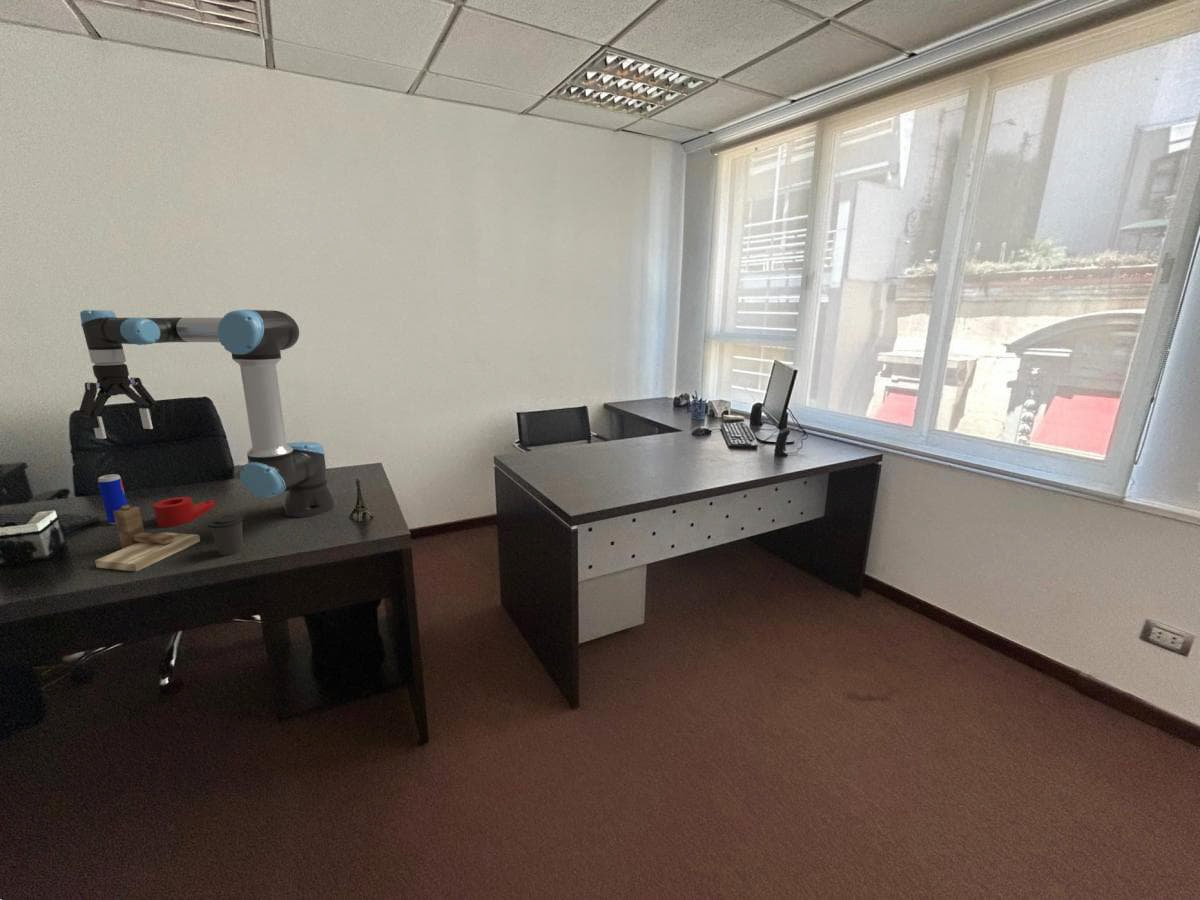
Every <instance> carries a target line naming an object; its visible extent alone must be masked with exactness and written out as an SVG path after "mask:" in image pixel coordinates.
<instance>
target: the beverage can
mask: <svg viewBox="0 0 1200 900" xmlns="http://www.w3.org/2000/svg"><path fill="white" fill-rule="evenodd" d="M97 483H98V486H99V492H100V494H101V499H102V501H103V502H102V503H103V506H104V511H105V514H106V519H107V522H108V523H109V524H110V525H116V522H115V518H114V514H113V511H116V510H119V509H122V508H121V506H123V505H128V501H127V496H126V494H125V489H124V484H123V481H122V477H121V476H120V474H119V473H117V474H116V473H113V474H105V475H102V476H99V477H98V478H97Z"/></svg>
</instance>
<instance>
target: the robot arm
mask: <svg viewBox="0 0 1200 900" xmlns="http://www.w3.org/2000/svg"><path fill="white" fill-rule="evenodd" d="M79 316H80V322H81V324H80V326H81V327H82V330H83V334H84V339H85V342H86V346H87V349H88V350H87V351H88V354H89V358H90V362H91V363H92V364H93V365H92V367H91V368H92V371H93V375H94V378H95V379H96V382H89V381H88V382H85V383H84V393H83V397H82V400H81V404H80V407H79V411H78V416H80V417H86V418H88V421H89V427H90V428H92V429H93V431H94V435H95V438H96V439H101V440H104V439H107V435H106V430H105V425H104V421H103V418H102V417H103V416H99V414H100V413H101V411H102V409H103V408H104V406H105V404H106V403H107V402H108V400H109V398H112V396H113V397H114V396H119V395H126V396H127V397H128V398H129V399H130V400H132V401H133V402H134V403H135V404H137V405H138V406H139V407H141V408H138V410H139V415H140V419H141V424H142V427H143V430H144V429H145V430H147V429H148V430H153V429H154V427H153V424H152V423H153V422H152V418H153V413H152V409H154V406H156V405H157V404H158V403H157V401H156V400H155V398H153V396H152V395H151V393H150V392H149V391H148V390H147V388H146V387H145V386H144V385H143V382H142V380H141V378H140V377H130V378H129V376H130V373H129V368H128V364H126V362H127V360H126V359H127V358H126V355H125V351H124V346H123V345H124V344H125V345H138V346H141V345H144V346H145V345H153V344H163V343H220V344H221V346H223V349H224V350H226V351H227V352H229V353H231V358H232V359H231V360H232V361H234V362H235V363H237V364H238V365H239V366H240V373H241V375H240V376H241V381H242V387H243V388H242V389H243V394H244V400H245V408H246V413H247V415H246V416H247V421H248V427H249V432H250V434H249V435H250V441H251V448H250V449H249V450H248V451H247V453H246V457H247V463H246V464H244V465H243V467H242V468H241V470H240V475H239V476H240V480H241V483H242V485H243V487H244V488H245V489H246V490H247V491H248V492H250V493H251V494H252V495H253V496H255V497H258V498H262V499H268V498H269V499H270V498H273V497H275V496H279V495H282V494H284V493H285V492H287V494H286V498H285V504H284V512H285V515H286V516H288V517H292V518H309V516H310V517H316V516H320V515H323V514H325V512H326V513H328V511H329V512H330V510H331V511H332V510H334V509H335V508H336V507H337V499H336V497H335V496H334V494H333V492H332V490H331V487H330V486H329V481H328V473H327V465H326V458H325V455H326V453H325V452H324V447H323V445H322V444H321V443H319V442H315V441H313V442H312V441H298V442H297V441H295V442H287V438H286V431H285V423H284V415H283V410H282V402H281V401H282V400H281V399H282V398H281V394H280V386H279V378H278V371H277V364H278V363H279V362H280V361H281V359H282V354H281V351H285V350H288V349H290V348H292V347H293V346H294V345H295V344H296V343H297V342H298V340H299V337H300V328H299V325H298V323H297V322H296V320H295V319H294V318H293V317H292V316H291V315H290V314H288V313H286V312H283V311H280V310H273V309H272V310H267V309H266V310H261V309H259V310H257V309H240V310H232V311H229V312H227V313H226V314H224V316H223V317H178V316H177V317H176V316H175V317H117V316H116V313H115V312H114V311H113V310H101V309H100V310H97V309H96V310H94V309H93V310H90V309H88V310H86V309H85V310H82V311H80V313H79ZM131 386H132V387H131ZM98 390H99V391H98ZM135 391H136V392H135ZM335 506H336V507H335ZM334 507H335V508H334ZM333 508H334V509H333ZM322 513H323V514H322ZM319 514H320V515H319ZM315 515H316V516H315Z"/></svg>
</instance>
